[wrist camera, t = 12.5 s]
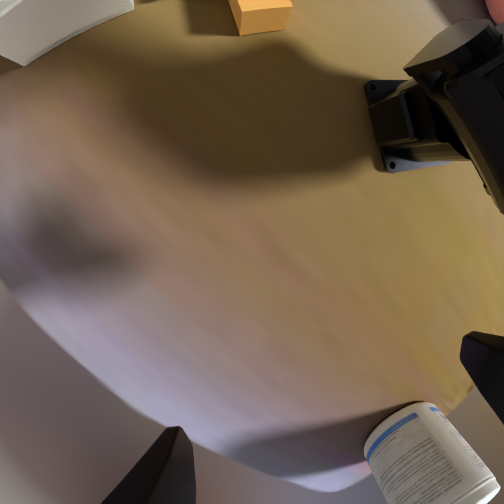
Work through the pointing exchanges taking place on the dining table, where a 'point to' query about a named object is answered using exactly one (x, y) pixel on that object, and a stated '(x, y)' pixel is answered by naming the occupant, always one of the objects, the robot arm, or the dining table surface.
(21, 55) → the tub
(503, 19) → the cell model
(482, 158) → the robot arm
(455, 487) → the supplement tub
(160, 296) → the dining table surface
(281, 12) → the lid
